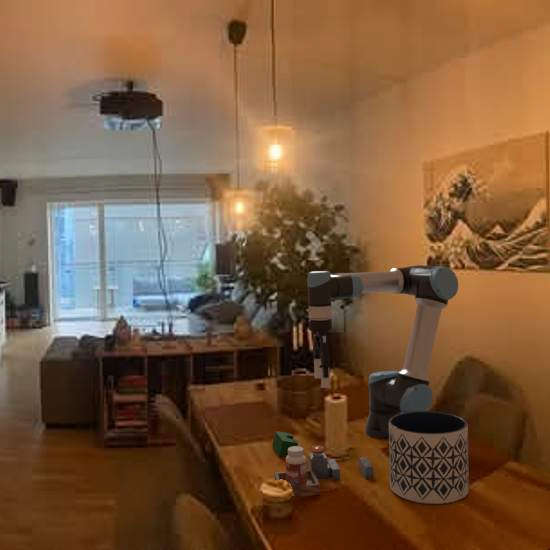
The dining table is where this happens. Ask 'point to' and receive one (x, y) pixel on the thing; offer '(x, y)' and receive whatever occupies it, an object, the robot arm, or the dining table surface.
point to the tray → (305, 489)
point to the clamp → (283, 442)
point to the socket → (335, 467)
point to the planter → (428, 457)
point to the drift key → (317, 451)
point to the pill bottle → (296, 466)
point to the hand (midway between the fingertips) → (322, 382)
